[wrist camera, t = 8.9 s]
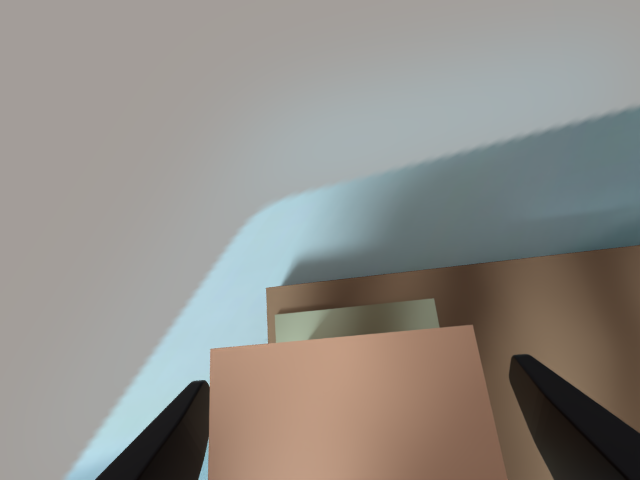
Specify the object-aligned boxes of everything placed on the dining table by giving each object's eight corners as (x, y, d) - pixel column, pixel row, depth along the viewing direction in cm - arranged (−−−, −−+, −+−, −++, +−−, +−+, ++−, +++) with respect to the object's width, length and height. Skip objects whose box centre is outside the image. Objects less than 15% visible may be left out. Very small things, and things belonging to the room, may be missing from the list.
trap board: (871, 226, 16) (951, 208, 13) (1047, 494, 12) (1194, 528, 10) (276, 292, 19) (264, 286, 17) (286, 514, 16) (273, 542, 14)
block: (409, 332, 15) (472, 324, 6) (429, 453, 14) (561, 715, 4) (306, 342, 16) (210, 348, 6) (314, 458, 14) (204, 698, 5)
